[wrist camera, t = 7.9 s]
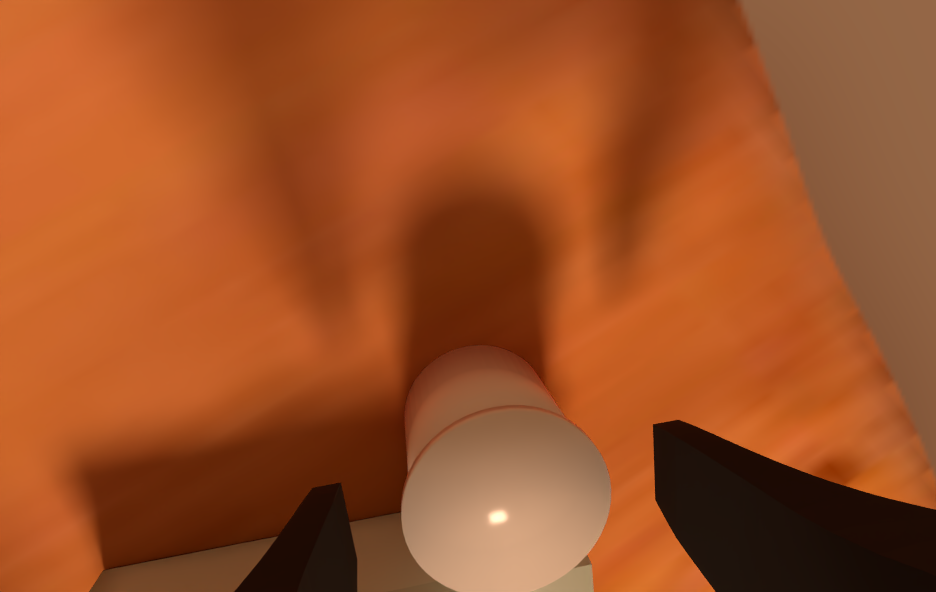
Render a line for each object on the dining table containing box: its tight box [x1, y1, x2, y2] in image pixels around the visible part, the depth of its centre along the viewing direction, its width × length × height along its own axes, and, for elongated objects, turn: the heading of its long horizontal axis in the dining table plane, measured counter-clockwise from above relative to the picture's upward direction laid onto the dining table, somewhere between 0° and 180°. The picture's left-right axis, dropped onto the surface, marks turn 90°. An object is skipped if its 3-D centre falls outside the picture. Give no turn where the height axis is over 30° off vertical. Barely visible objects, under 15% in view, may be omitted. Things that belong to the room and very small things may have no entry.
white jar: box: [401, 345, 611, 592], centre depth 14 cm, size 5×5×4 cm
